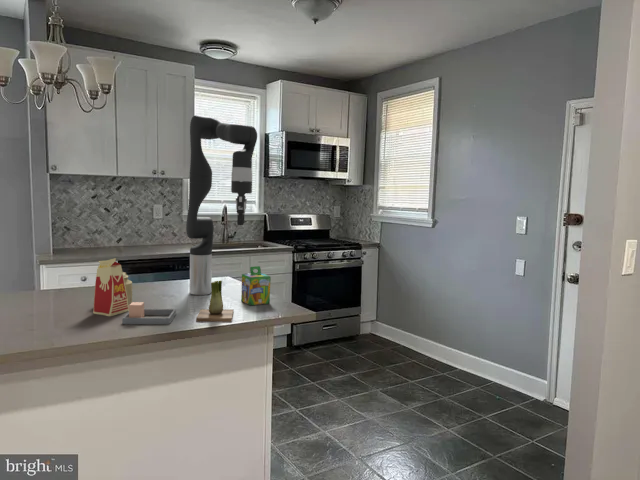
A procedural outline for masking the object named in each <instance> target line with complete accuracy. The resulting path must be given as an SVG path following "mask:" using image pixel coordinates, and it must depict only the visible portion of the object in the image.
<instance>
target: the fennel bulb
mask: <svg viewBox="0 0 640 480" xmlns="http://www.w3.org/2000/svg"><path fill="white" fill-rule="evenodd" d="M222 286H223V281H222V280H215V281H211V293H210V294H211V295H210V300H209V306H208V309H209V312H210V313H211V314H219V313H222V311H223V309H224V302H223V296H222V295H223V294H222Z"/></svg>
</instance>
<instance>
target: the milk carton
mask: <svg viewBox="0 0 640 480" xmlns="http://www.w3.org/2000/svg"><path fill="white" fill-rule="evenodd" d="M116 260H117V258H116V257H114V258H111V259H107V260H98V261H97V262H98V263H99V264H98V266H97V268H96V273H95V274H96V276H95V282H94V296H93V311H92V312H93V314H94V315H100V316H105V317H113V316H116V315H120V314H124V313H126V312H127V313H128V312H129V305H128V298H127V293H126V287H125V282H124V277H123V272H124V271H123V268H122V264H120V263H119V262H117V261H116Z"/></svg>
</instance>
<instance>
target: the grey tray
mask: <svg viewBox="0 0 640 480" xmlns="http://www.w3.org/2000/svg"><path fill="white" fill-rule="evenodd" d="M176 315H177V309H176V308H144V316H168V317H144V318H129V311H127V313H126V314H125V315H124V316H123V317H122V318H121V321H122V325H170V324H171V323H172V321H173V320H174V318H175V317H176Z"/></svg>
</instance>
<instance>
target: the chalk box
mask: <svg viewBox="0 0 640 480" xmlns="http://www.w3.org/2000/svg"><path fill="white" fill-rule="evenodd" d="M249 269H250V270H249V271H250V273H249V272H248V273H242V274H241V297H240V298H241V302H243V303H244V304H247V305H249V306H257V305H259V306H260V305H268V304H269V305H270V302H271V278H272V277H271V276H270V275H268V274H266V273H262V271H261V269H262V268H261V266H260V265H257V266H250V267H249ZM255 270H257V272H255Z"/></svg>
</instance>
